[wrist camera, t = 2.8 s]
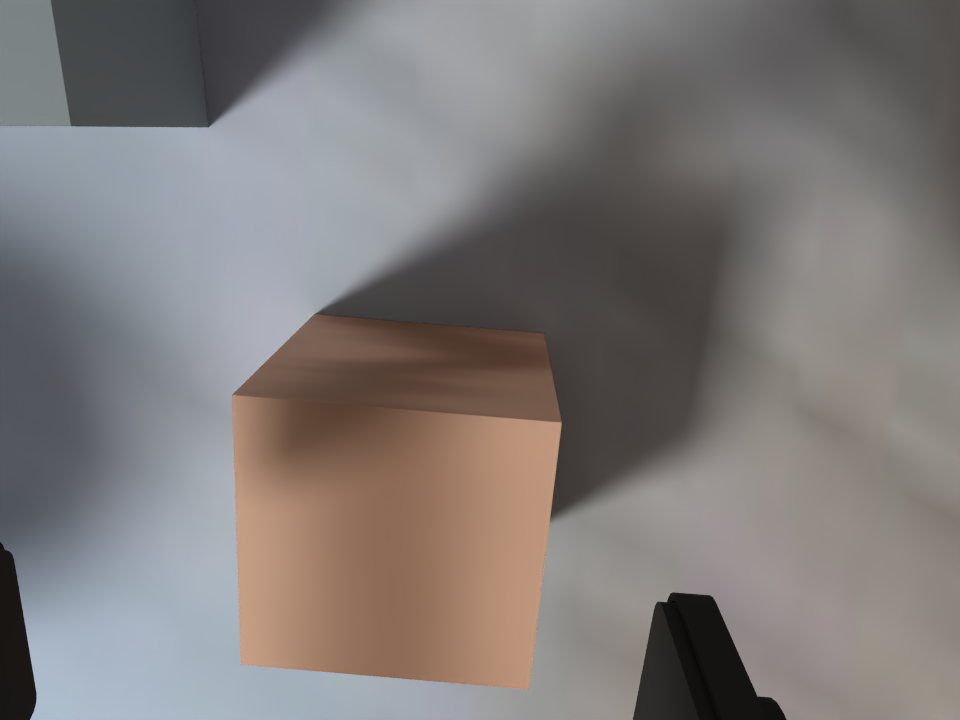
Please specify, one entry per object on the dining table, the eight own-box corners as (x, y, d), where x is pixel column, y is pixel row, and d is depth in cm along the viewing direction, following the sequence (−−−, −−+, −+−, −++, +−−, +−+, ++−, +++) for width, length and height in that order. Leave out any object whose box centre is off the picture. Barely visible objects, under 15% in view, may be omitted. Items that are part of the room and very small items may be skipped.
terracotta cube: (544, 332, 19) (561, 422, 13) (522, 533, 20) (529, 689, 15) (315, 313, 19) (232, 394, 13) (314, 515, 20) (241, 664, 15)
